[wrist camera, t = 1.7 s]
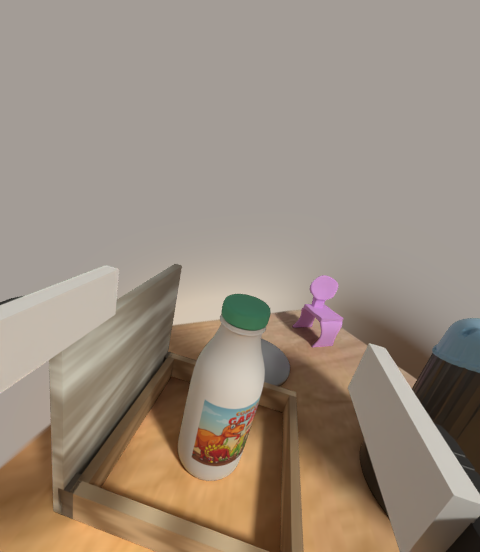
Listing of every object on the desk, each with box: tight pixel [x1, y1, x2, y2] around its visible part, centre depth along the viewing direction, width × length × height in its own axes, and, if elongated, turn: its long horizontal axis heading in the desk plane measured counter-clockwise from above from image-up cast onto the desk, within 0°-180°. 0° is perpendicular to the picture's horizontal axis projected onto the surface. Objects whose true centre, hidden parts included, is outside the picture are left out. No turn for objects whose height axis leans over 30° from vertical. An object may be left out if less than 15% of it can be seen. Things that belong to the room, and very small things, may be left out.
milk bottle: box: [178, 294, 270, 481], centre depth 28 cm, size 8×8×20 cm
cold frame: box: [49, 264, 304, 552], centre depth 28 cm, size 22×20×18 cm
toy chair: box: [292, 276, 343, 347], centre depth 60 cm, size 8×9×15 cm
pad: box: [261, 339, 290, 386], centre depth 48 cm, size 14×14×1 cm
